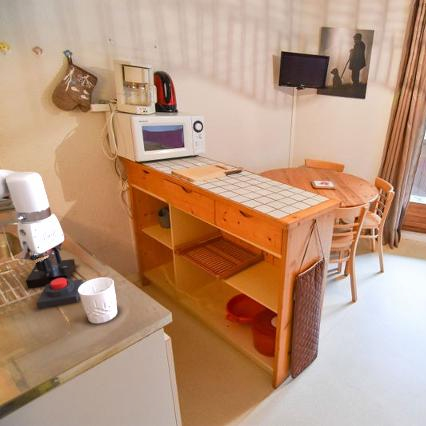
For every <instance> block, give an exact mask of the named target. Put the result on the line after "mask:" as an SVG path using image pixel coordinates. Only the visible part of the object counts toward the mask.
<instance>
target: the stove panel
mask: <svg viewBox="0 0 426 426" xmlns="http://www.w3.org/2000/svg"><path fill="white" fill-rule="evenodd" d="M61 260H62V263H58V266H59V268H58V269H57V270H55V271H53V272H43V271H38V270H37V267H36V264H35V265H34V267H33V268H32V269H31V271H30V273H29V274H28V276H27V277H26V279H25V284H26V287H27V289H30V290H31V289H36V288H45V286H46V284H49V283H51V281H53V280H55V279H57V278H66V279H71V278H72V277H73V274H74V271H75V269H76V262H75V259H74V258H70V259H61Z"/></svg>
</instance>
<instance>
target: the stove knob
mask: <svg viewBox="0 0 426 426" xmlns="http://www.w3.org/2000/svg"><path fill="white" fill-rule="evenodd" d="M47 255H49V257H48V258H46V259H44V260H46V262H47V266H48V269H49V271H47V272H53V271H55V270H57V269H58V268H59V266H58V262H57V259H56V255H55V252H54V250H52V249H49V250H47V251H46V252H44V253H43V257H44V256H47ZM43 272H44V271H43Z"/></svg>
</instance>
